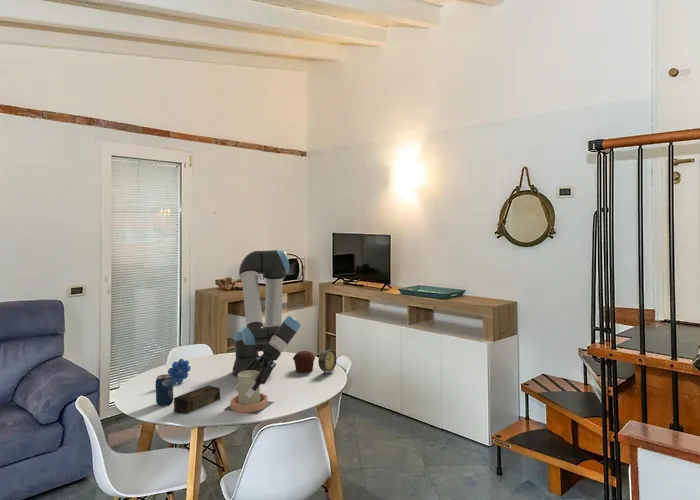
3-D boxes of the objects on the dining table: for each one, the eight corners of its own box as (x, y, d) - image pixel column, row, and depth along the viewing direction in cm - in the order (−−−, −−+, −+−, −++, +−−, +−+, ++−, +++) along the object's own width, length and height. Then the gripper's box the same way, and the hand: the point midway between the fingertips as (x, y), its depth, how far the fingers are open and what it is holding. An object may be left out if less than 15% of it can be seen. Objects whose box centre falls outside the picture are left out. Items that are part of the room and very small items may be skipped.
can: (255, 405, 191) (254, 376, 191) (234, 403, 193) (233, 375, 193) (263, 397, 200) (263, 369, 200) (243, 395, 202) (242, 368, 202)
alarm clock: (325, 376, 236) (324, 344, 235) (316, 374, 239) (316, 343, 238) (337, 370, 245) (336, 340, 245) (328, 369, 248) (328, 338, 247)
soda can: (173, 405, 200) (172, 377, 200) (156, 407, 198) (155, 379, 197) (173, 399, 207) (172, 373, 206) (156, 402, 204) (155, 375, 204)
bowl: (223, 410, 192) (223, 403, 192) (243, 397, 207) (243, 390, 206) (255, 414, 187) (255, 407, 187) (273, 401, 201) (273, 394, 201)
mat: (223, 411, 193) (223, 409, 193) (242, 399, 206) (242, 397, 206) (257, 415, 188) (257, 414, 188) (274, 403, 201) (274, 402, 201)
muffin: (316, 367, 252) (315, 348, 252) (315, 373, 241) (314, 354, 241) (293, 367, 252) (293, 349, 251) (292, 374, 241) (291, 354, 240)
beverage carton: (221, 401, 205) (220, 386, 205) (186, 416, 189) (185, 400, 188) (208, 397, 209) (207, 383, 209) (172, 413, 193) (172, 397, 192)
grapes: (187, 378, 236) (186, 355, 235) (193, 381, 231) (192, 357, 230) (164, 384, 228) (163, 360, 227) (169, 387, 223) (169, 362, 222)
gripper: (256, 339, 210) (224, 382, 201) (282, 348, 194) (248, 395, 184) (267, 348, 214) (236, 391, 205) (293, 358, 198) (260, 405, 188)
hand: (241, 393), depth 195 cm, fingers closed on can, 9 cm apart
